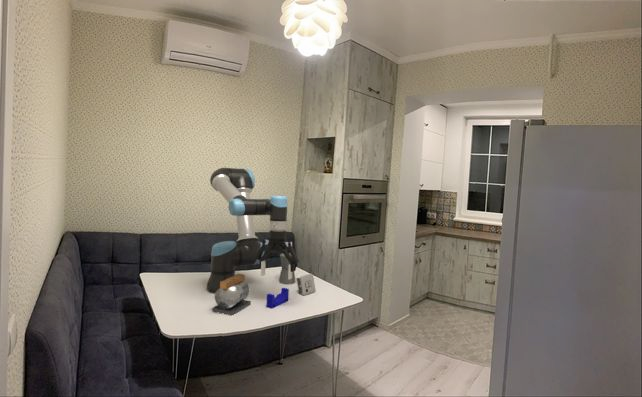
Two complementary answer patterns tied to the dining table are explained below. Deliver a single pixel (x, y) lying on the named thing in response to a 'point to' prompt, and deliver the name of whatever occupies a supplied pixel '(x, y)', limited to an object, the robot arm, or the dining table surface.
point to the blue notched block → (277, 298)
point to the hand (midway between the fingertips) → (276, 277)
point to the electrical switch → (306, 284)
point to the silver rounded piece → (232, 295)
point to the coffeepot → (286, 270)
